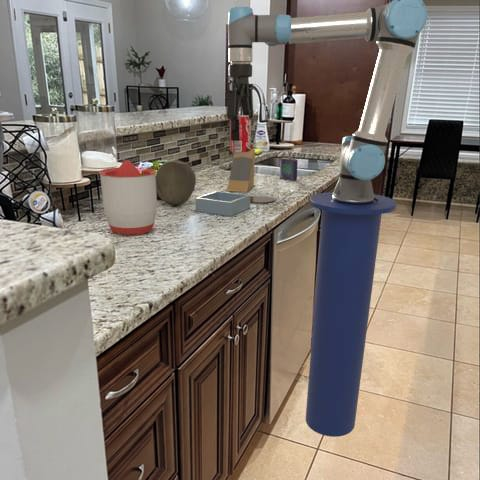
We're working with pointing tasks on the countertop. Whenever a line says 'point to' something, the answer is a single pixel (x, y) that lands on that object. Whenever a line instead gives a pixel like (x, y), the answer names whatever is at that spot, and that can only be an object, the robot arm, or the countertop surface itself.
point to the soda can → (242, 136)
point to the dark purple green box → (288, 168)
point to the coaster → (261, 199)
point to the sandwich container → (242, 172)
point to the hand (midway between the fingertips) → (240, 139)
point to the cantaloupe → (175, 182)
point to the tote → (222, 203)
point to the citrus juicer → (129, 198)
